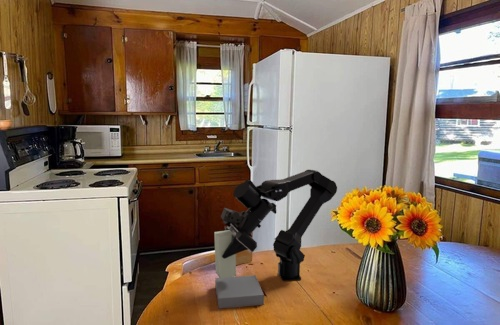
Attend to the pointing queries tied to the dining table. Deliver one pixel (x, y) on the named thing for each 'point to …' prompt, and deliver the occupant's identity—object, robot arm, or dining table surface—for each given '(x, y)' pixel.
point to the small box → (244, 256)
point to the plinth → (238, 291)
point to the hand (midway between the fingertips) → (220, 254)
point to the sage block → (223, 266)
